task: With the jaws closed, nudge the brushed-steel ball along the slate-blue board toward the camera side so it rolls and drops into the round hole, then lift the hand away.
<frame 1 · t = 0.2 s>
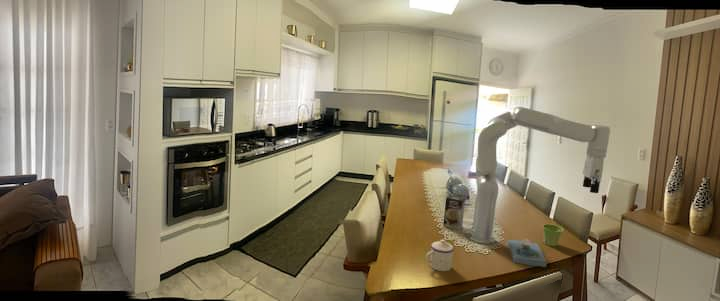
hand: (590, 189, 173), 31 cm above the table, fingers open, 9 cm apart
teacup with lid: (437, 267, 157), on the table
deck: (525, 254, 173), on the table
plant pot: (550, 244, 187), on the table
ball: (526, 243, 174), point 5 cm above the table, touching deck
coffee box: (452, 226, 203), on the table
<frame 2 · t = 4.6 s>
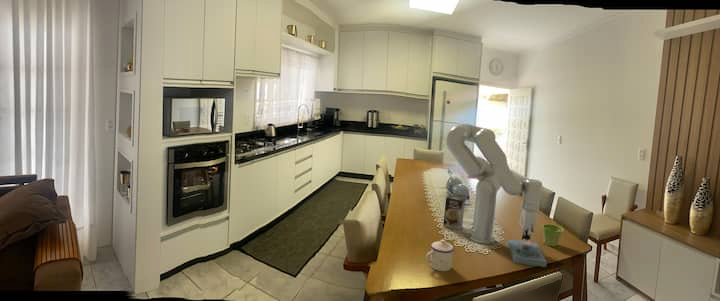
hand: (525, 243, 178), 3 cm above the table, fingers closed
ball: (526, 243, 174), point 5 cm above the table, touching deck, gripper
everything else where it was.
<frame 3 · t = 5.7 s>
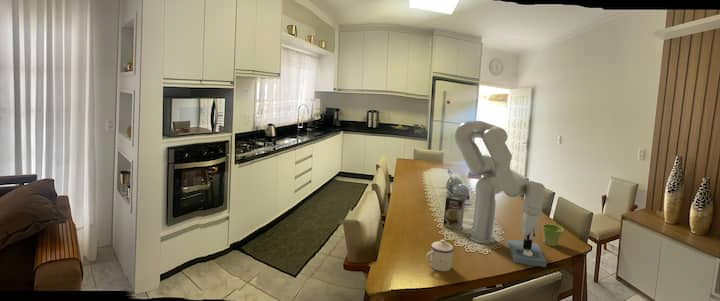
hand: (527, 248, 173), 3 cm above the table, fingers closed
ball: (527, 254, 168), point 2 cm above the table, tilted 173°
everything else where it was.
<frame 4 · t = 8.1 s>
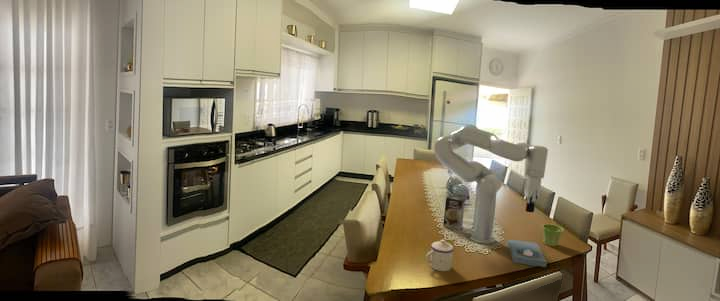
hand: (529, 211, 175), 19 cm above the table, fingers closed
nothing on the table moved.
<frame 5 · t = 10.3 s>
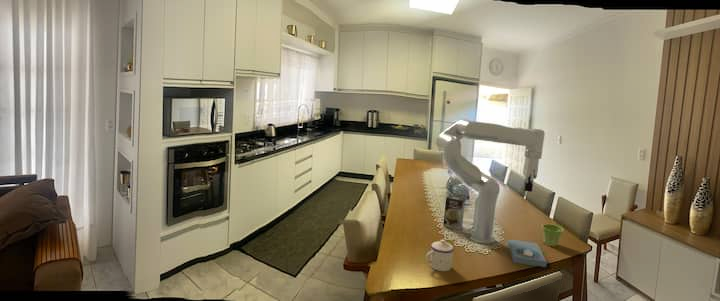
hand: (528, 190, 188), 25 cm above the table, fingers closed
nothing on the table moved.
at the end: ball 0.5 cm from the target spot in the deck, point 2.2 cm above the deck's base; the gripper is holding nothing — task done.
